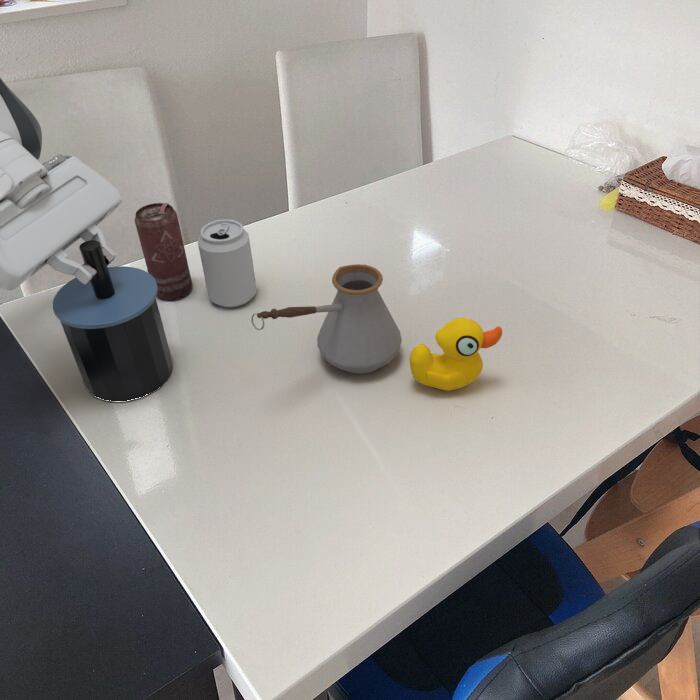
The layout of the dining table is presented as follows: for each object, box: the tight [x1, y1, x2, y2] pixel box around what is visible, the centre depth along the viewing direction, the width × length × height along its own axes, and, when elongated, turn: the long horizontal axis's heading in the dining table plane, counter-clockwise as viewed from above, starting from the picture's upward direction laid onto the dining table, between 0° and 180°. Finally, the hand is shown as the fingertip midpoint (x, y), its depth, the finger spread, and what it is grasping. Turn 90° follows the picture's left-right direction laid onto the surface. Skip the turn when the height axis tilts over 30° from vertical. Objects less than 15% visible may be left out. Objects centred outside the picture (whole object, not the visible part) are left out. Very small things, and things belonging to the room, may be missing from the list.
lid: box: [52, 240, 158, 329], centre depth 82 cm, size 13×13×8 cm
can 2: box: [197, 218, 258, 309], centre depth 102 cm, size 8×8×12 cm
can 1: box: [134, 202, 193, 302], centre depth 103 cm, size 6×6×14 cm
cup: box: [59, 298, 174, 401], centre depth 89 cm, size 12×12×12 cm
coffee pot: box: [251, 263, 403, 375], centre depth 87 cm, size 21×12×15 cm, turn 131°
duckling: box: [409, 317, 503, 391], centre depth 86 cm, size 11×5×10 cm, turn 93°
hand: (101, 270), depth 82 cm, fingers closed on lid, 2 cm apart
